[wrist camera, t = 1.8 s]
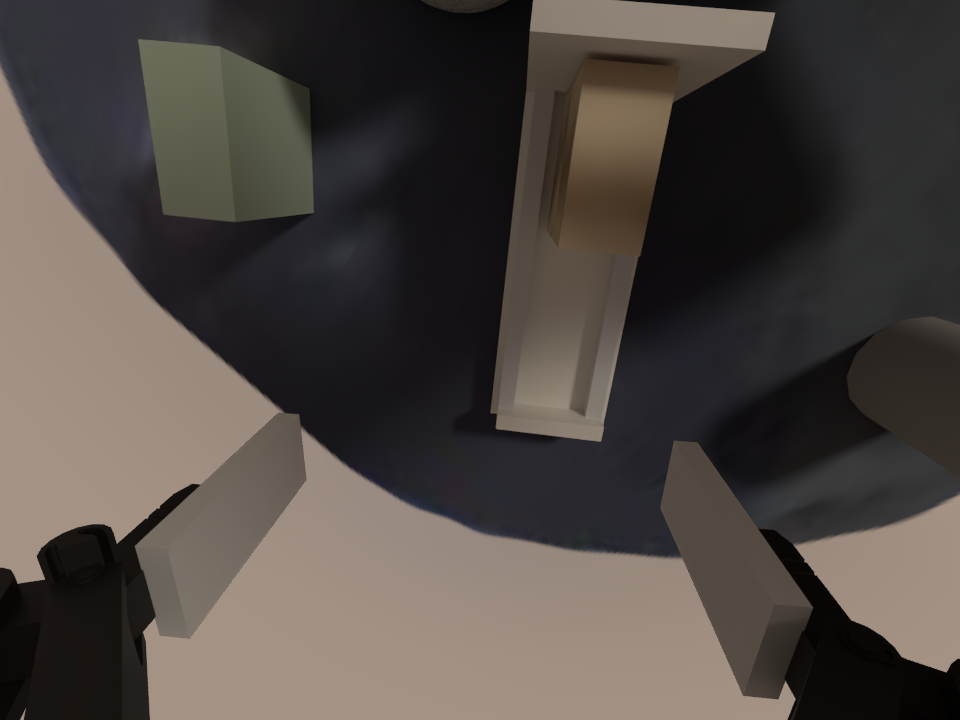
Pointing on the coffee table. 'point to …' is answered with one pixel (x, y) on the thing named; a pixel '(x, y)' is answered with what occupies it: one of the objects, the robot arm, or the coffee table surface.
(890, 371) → the cup
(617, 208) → the oak panel
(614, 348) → the track
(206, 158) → the green panel
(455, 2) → the planter
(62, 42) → the coffee table surface
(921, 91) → the coffee table surface
